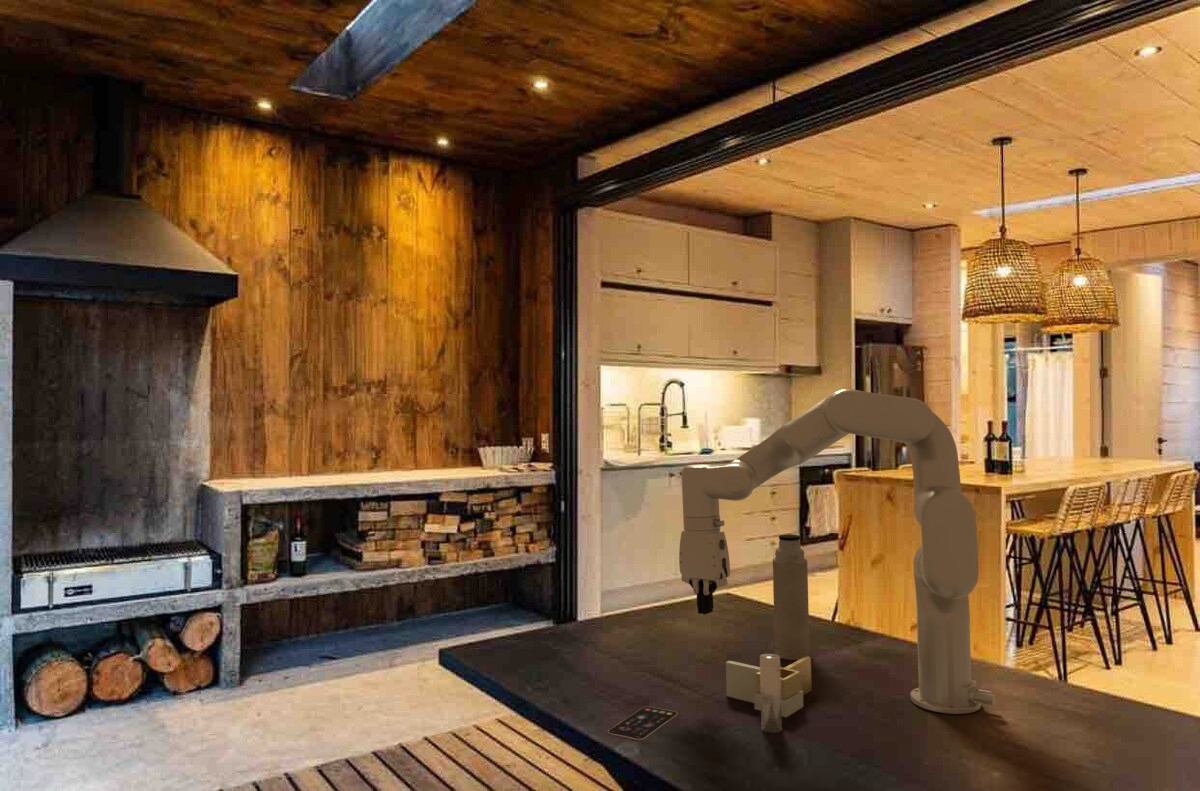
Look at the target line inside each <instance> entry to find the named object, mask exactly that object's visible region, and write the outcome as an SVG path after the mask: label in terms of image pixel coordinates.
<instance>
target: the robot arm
mask: <svg viewBox="0 0 1200 791" xmlns="http://www.w3.org/2000/svg"><path fill="white" fill-rule="evenodd" d="M849 434H852V435H856V436H862V437H868V438H874V439H880V440H888V441H894V442H901V443H904V445H905V446H906V447H907V449H908V452H909V454H910V459H911V468H912V469H911V470H912V477H913V478H912V479H913V513H914V517H915V519H916V522H917V523H918V524H919V525H920V527H921V543H922V544H920V546H919V547H918V549H917V550H916V551H915V554H914V557H913V564H912V566H913V578H914V586H915V587H914V588H915V589H914V590H915V600H916V602H915V603H916V630H917V631H916V632H917V633H916V634H917V637H916V638H917V668H918V670H917V671H918V672H917V674H918V687H916V688H914V689H912V690H911V691H910V692H909V693H910V700H911V701H912V703H913V704H914V705H916V706H918V707H920V708H922V709H925V710H928V711H932V712H936V713H941V714H948V715H951V714H952V715H961V714H962V715H963V714H965V715H966V714H971V713H975V712H977V711H978V710H979V711H980V709H981V707H982V704H985V705H989V706H994V707H995V705H996V695H995V694H993V693H992V691H991V690H985V689H980V688H979V687H977V680H973V679H972V661H971V660H972V659H971V658H972V655H971V654H972V653H971V628H970V627H971V626H970V625H971V618H970V616H971V614H970V600H969V595H970V594H971V593H972V592H973V591H974V589H975V588H976V586H977V585H978V581H979V580H978V579H979V574H980V570H979V569H980V566H979V565H980V563H979V544H978V527H977V518H976V513H975V509H974V506H973V504H972V503H971V501H970V499H969V498H968V497H967V496H966V495H965V494H963V492H962V484H961V472H960V471H961V470H960V464H959V454H958V449H957V446H956V442H955V439H954V437H953V435H952V432H951V431H950V429H949V427H948V426H947V425H946V423H945V421H943V419H941V417H939V416H938V415H937V414H936V413H934V412H933V411H932V409H931V407H930V406H929V405H928V404H927V403H925V402H924V401H923V400H920V399H917V398H914V397H907V396H900V395H891V394H882V393H877V392H875V393H874V392H870V391H863V390H858V389H853V388H844V389H840V390H837V391H835V392H833V393H831V394H830V395H828V396H826V397H825V398H823V399H822V400H820V401H818V402H816V403H815V404H814V405H813V406H812V407H810V408H808V409H807V410H805V411H804V412H802V413H800V414H799V415H797V416H796V417H794V418H792V419H791V420H790V421H788V422H786V423H785V424H783V425H782V426H781V427H779V428H778V429H776V430H775V431H774V432H773V433H772V434H771V435H769V436H768V437H767V438H765V440H763V441H761V442H760V443H759V444H757V445H755V446H754V447H752V448H751V449H749V450H748V451H746V452H744V453H743V454H742V455H740V456H739V457H737V458H735V459H734V460H732V461H731V462H729V463H727V464H726V465H717V466H715V465H713V464H708V463H707V464H706V463H704V464H703V463H702V464H689V465H686V466H684V467H683V468H682V469H681V494H682V495H681V496H682V516H683V518H682V520H683V529H682V530H681V532H680V540H679V555H678V560H679V561H678V562H679V563H678V566H679V572H680V575H681V579H680V580H681V582H684V583H685V584H688V585H690V587H691V588H692V589H693V592H694V594H695V595H696V606H697V613H698V614H700V615H701V614H702V615H708V614H711V613H713V611H714V610H713V609H714V594H715V593H716V590H717V589H718V588H723V587H726V586H728V584H729V583H728V579H727V578H729V577H730V575H731V564H730V563H731V562H730V555H729V554H730V553H729V548H728V542H727V538H726V534H725V532H724V530H721V527H724V526H725V520H724V519H721V515H720V501H719V500H726V501H731V502H733V501H734V502H735V501H742V500H745V499H747V498H748V497H750V495H752V493H753V491H754V490H755V489H756V488H758V487H760V486H761V485H763V484H764V483H766V482H767V481H768V480H771V479H772V478H773V477H775V476H777V475H779V474H780V473H782V472H784V471H786V470H788V469H789V468H793V467H795V466H798V465H801V464H803V463H805V462H807V461H809V460H811V459H812V458H813V457H815V456H816V455H818V454H819V453H821V452H823V451H824V450H825V449H827V448H829V447H830V446H832V445H834V444H835V443H836V442H839V441H841V440H842V439H843V438H845V437H846V436H848V435H849Z"/></svg>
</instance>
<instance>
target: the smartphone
mask: <svg viewBox="0 0 1200 791" xmlns="http://www.w3.org/2000/svg"><path fill="white" fill-rule="evenodd" d="M678 714H679V713H678V711H675V710H669V709H664V708H659V707H655V706H654V707H653V706H643V707H641V708H640V709H639V710H637V711H635V712H634V713H632V714H631V715H630V716H629V715H628V716H627V717H626V718H625V719H624V720H621V721H620V722H618V723H617V724H616V725H614V726H612V727H611V728H610V729H609V730H607V734H609V735H611V736H616V737H620V738H625V739H629V740H634V741H637V742H638V741H645V740H646V739H647V738H649V737H650V736H651V735H652V734H655V733H656V732H657V731H658V730H659V729H661V728H662V727H663V726H665V725H666V724H668V723H669V722H671V721H672V720H673V719H674V718H675V717H677V716H678Z"/></svg>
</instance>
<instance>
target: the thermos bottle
mask: <svg viewBox="0 0 1200 791" xmlns="http://www.w3.org/2000/svg"><path fill="white" fill-rule="evenodd" d="M800 540H801V535H797V534H780V535H778V547H777V548H775V549H774V550H775V552H774V555H775V557H773V558H772V576H773V577H772V581H773V583H772V584H773V585H772V588H773V589H772V591H773V592H772V594H773V626H774V631H773V632H774V654H775V655H778V656H780V659H782V660H783V659H784V660H791V661H793V660H794V661H798V660H800V659H802V658H804V657H806V656H808V657H811V656H810V620H809V619H810V617H809V615H810V613H809V612H810V611H809V580H808V579H809V574H808V568H809V567H808V559H807V558H805V554H806V553H805V550H804V548H802V547H801V542H800Z"/></svg>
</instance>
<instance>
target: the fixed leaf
mask: <svg viewBox="0 0 1200 791" xmlns="http://www.w3.org/2000/svg"><path fill="white" fill-rule="evenodd" d="M811 659H812V658H811V656H809V657H808V656H806V657H804V658H802V659H800V660H795V661H794V662H793V663H791V664H788V665H787V666H785V667H782V666H780V677H781V698H784V699H786V698H787V697H789V696H791V695H793V694H794V693H796V692H798V691H799V690H800V691H803V696H804V695H806V694H808V693H809V692H811V691H812V660H811ZM756 692H759V693H761V688H760V672H758V673H756Z"/></svg>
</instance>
